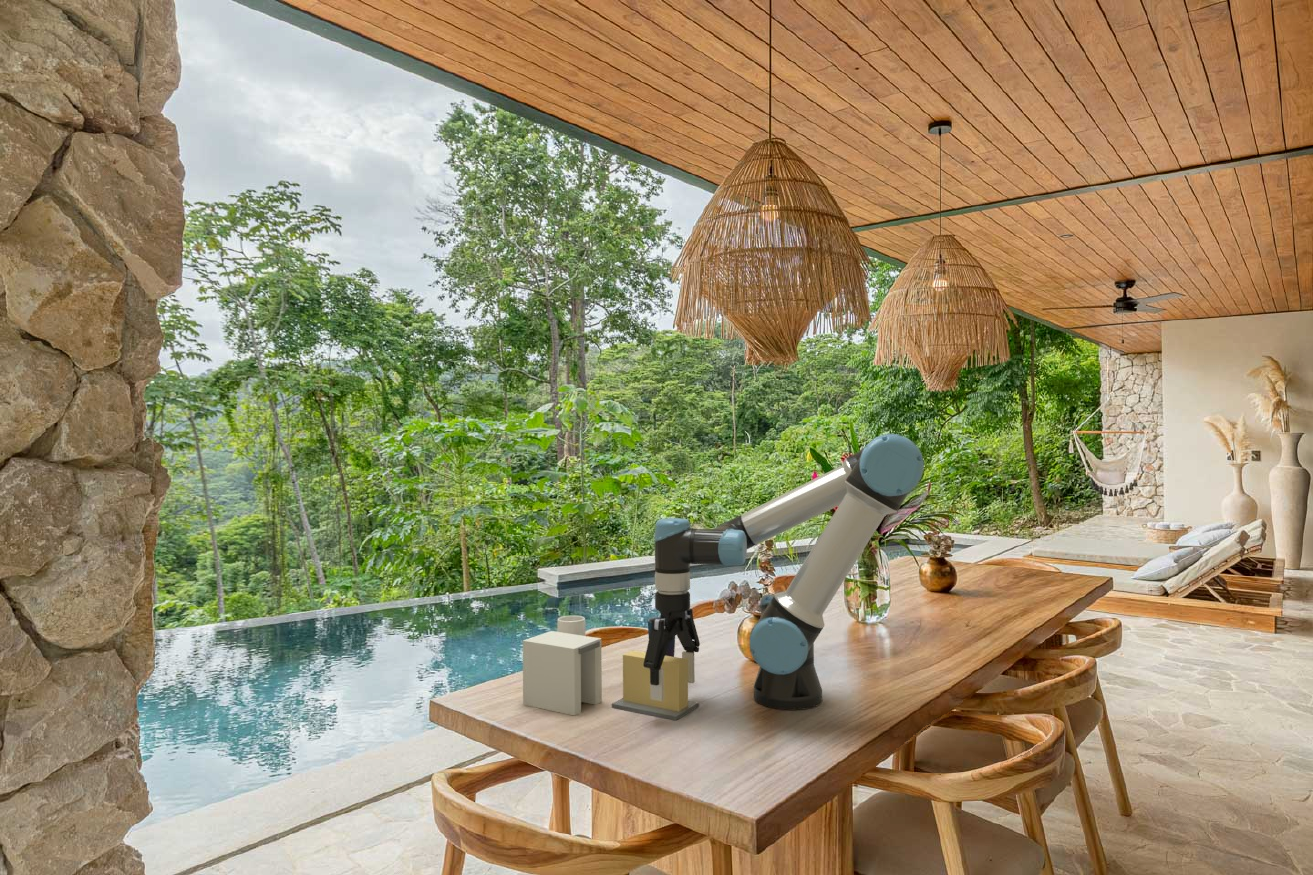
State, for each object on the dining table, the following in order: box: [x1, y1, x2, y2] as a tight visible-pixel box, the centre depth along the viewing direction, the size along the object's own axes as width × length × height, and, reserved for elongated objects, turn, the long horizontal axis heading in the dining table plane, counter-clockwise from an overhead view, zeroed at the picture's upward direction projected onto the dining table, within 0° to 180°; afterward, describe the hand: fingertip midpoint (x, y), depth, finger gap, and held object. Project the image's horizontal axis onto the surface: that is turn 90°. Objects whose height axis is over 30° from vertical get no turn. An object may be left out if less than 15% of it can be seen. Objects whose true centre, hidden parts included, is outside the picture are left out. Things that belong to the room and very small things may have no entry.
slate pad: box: [611, 697, 700, 721], centre depth 169 cm, size 16×10×1 cm, turn 59°
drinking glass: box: [556, 615, 587, 636], centre depth 188 cm, size 7×7×15 cm
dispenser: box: [522, 630, 603, 717], centre depth 172 cm, size 15×10×14 cm
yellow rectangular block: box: [622, 650, 689, 711], centre depth 169 cm, size 14×4×10 cm, turn 59°
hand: (673, 690), depth 167 cm, fingers open, 13 cm apart
